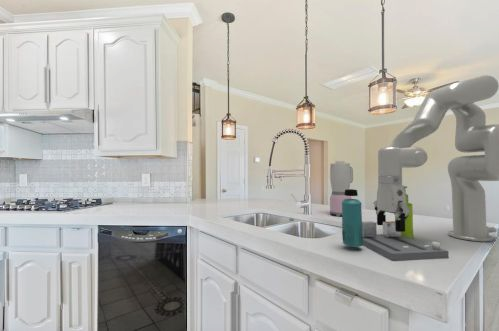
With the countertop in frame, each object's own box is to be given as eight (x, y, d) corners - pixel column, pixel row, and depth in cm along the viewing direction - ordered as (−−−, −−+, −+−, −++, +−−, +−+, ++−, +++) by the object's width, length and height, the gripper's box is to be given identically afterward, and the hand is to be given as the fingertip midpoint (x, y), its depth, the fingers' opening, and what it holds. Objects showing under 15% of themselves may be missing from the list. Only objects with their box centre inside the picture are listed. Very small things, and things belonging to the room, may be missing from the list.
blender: (339, 217, 132) (338, 160, 133) (325, 214, 143) (324, 161, 144) (361, 215, 137) (360, 161, 138) (346, 212, 148) (345, 161, 149)
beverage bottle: (367, 250, 77) (366, 189, 78) (351, 252, 75) (349, 190, 76) (353, 244, 83) (352, 188, 84) (337, 246, 82) (336, 188, 82)
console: (398, 238, 90) (398, 228, 90) (448, 257, 70) (448, 244, 70) (354, 240, 88) (354, 230, 88) (392, 260, 68) (392, 246, 68)
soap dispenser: (393, 233, 98) (392, 185, 98) (413, 236, 93) (412, 185, 94) (391, 236, 93) (390, 186, 94) (412, 239, 89) (410, 186, 89)
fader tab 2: (395, 234, 87) (395, 220, 87) (400, 236, 84) (400, 222, 85) (382, 235, 86) (382, 221, 87) (387, 237, 84) (387, 222, 84)
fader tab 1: (372, 234, 87) (372, 221, 87) (376, 236, 84) (376, 222, 85) (359, 235, 86) (359, 221, 87) (363, 237, 84) (363, 223, 84)
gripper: (418, 182, 78) (419, 234, 77) (383, 180, 95) (383, 222, 94) (397, 182, 77) (398, 234, 76) (366, 180, 94) (366, 223, 94)
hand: (390, 228), depth 85 cm, fingers open, 9 cm apart
